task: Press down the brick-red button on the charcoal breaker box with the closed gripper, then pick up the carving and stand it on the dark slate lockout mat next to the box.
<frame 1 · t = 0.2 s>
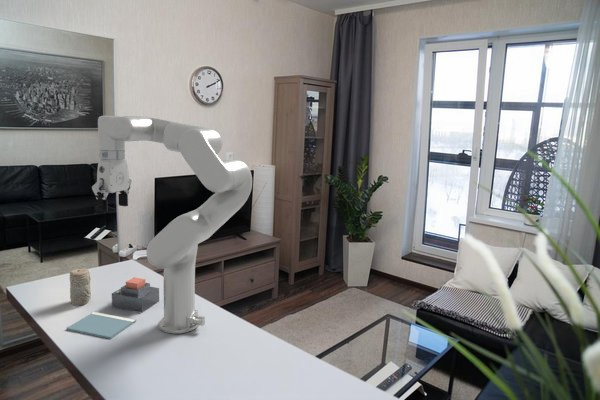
hand: (113, 208, 139), 36 cm above the table, fingers open, 9 cm apart
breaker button: (135, 283, 151), point 8 cm above the table, slide at 0.0 cm
breaker box: (136, 304, 152), on the table
carving: (81, 303, 151), on the table
lockout mat: (102, 325, 136), on the table
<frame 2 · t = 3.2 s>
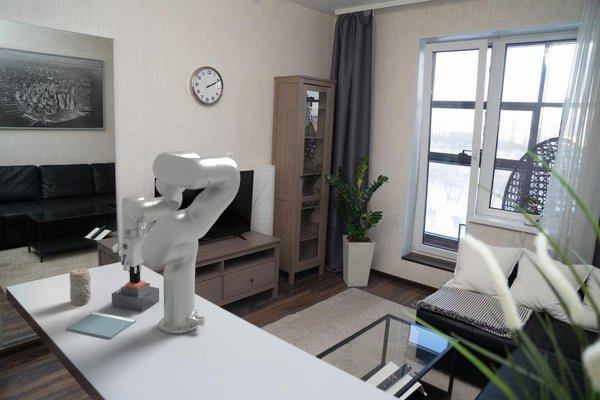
hand: (135, 282, 151), 8 cm above the table, fingers closed
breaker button: (135, 285, 151), point 7 cm above the table, slide at 0.7 cm, touching gripper
everything else where it was.
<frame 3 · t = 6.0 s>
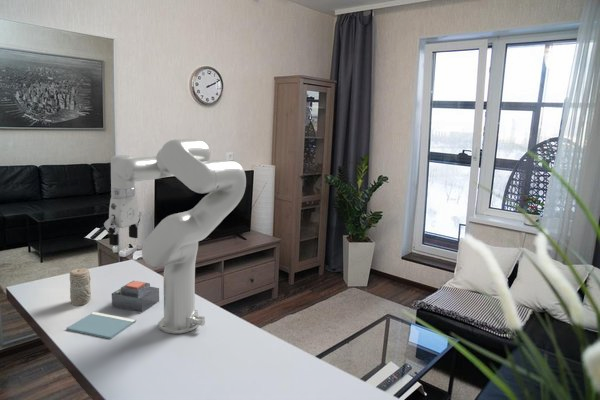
hand: (123, 241, 148), 23 cm above the table, fingers open, 9 cm apart
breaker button: (135, 286, 151), point 6 cm above the table, slide at 1.3 cm
everything else where it was.
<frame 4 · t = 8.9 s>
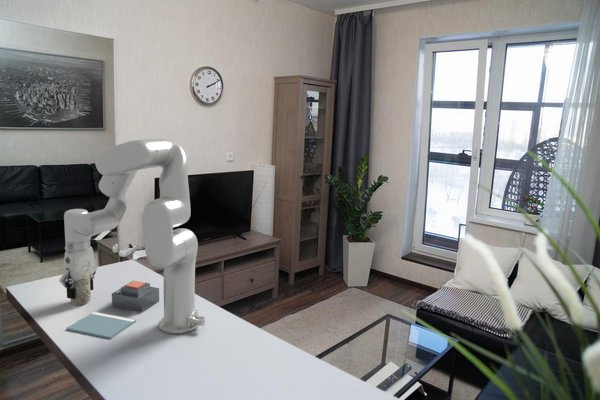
hand: (80, 293, 150), 3 cm above the table, fingers closed on carving, 7 cm apart
carving: (81, 303, 151), on the table, touching gripper
everything else where it was.
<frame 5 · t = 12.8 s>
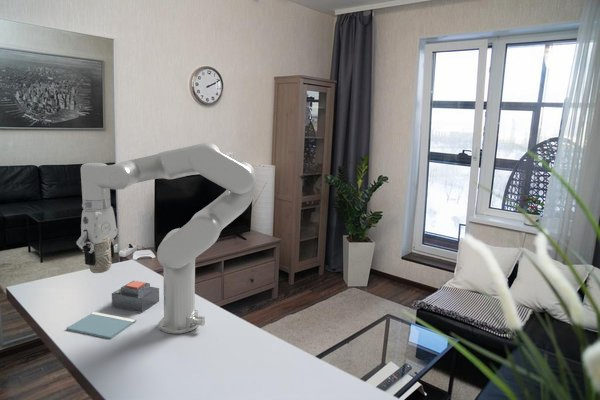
hand: (100, 260, 132), 21 cm above the table, fingers closed on carving, 7 cm apart
carving: (100, 271, 133), point 18 cm above the table, touching gripper
everything else where it was.
when the fingers open (5 cm above the table, at t = 16.6 s): carving drops 1 cm, resting on lockout mat.
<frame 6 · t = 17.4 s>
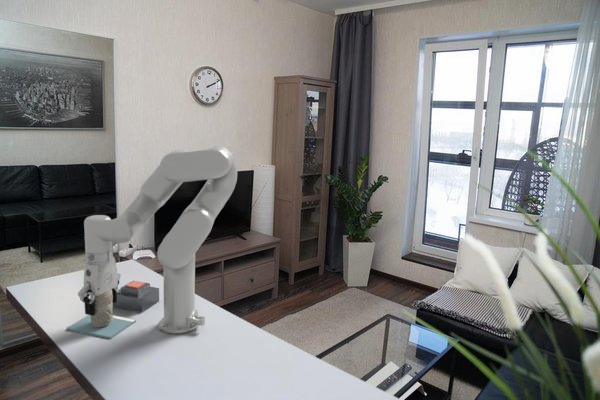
hand: (101, 308, 135), 6 cm above the table, fingers open, 9 cm apart
carving: (102, 324, 136), resting on lockout mat
everything else where it was.
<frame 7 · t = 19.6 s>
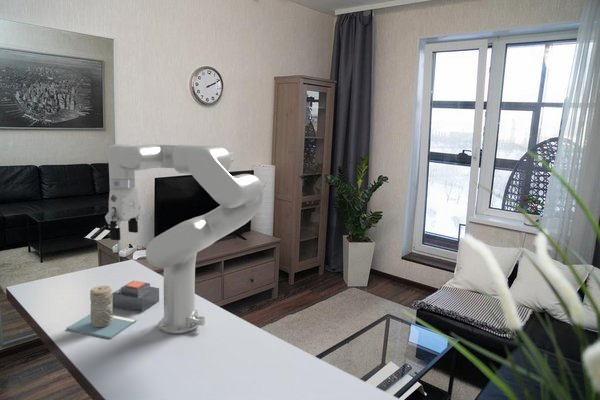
hand: (124, 235, 140), 27 cm above the table, fingers open, 9 cm apart
nothing on the table moved.
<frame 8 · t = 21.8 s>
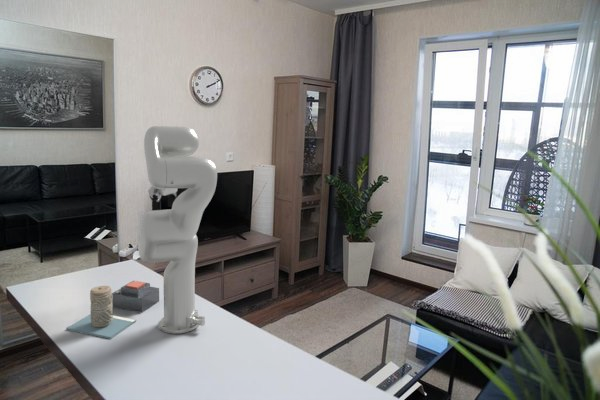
hand: (164, 209, 156), 32 cm above the table, fingers open, 9 cm apart
nothing on the table moved.
at the end: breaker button slide at 1.3 cm; carving inside the target area on the lockout mat (0.3 cm from its centre), point 0.4 cm above the lockout mat's base; carving tilted 0° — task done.
